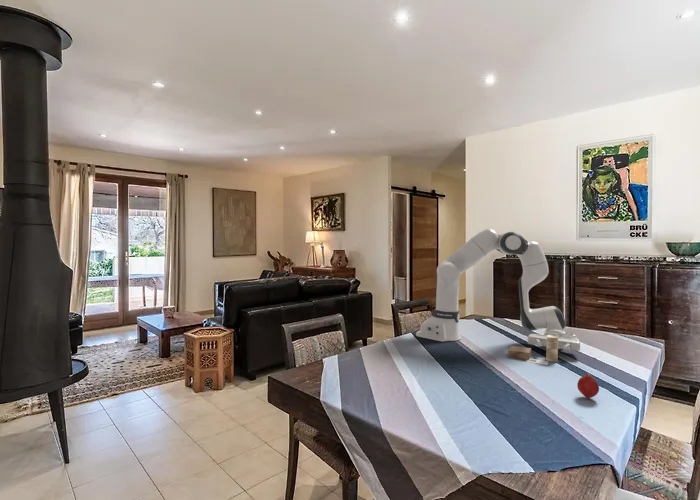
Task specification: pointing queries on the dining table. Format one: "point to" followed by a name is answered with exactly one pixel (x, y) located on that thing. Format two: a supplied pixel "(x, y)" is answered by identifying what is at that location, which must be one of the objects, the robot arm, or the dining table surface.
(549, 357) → the pillar
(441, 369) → the dining table surface
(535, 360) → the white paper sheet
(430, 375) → the dining table surface
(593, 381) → the red rounded piece
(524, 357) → the plinth
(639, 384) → the dining table surface
